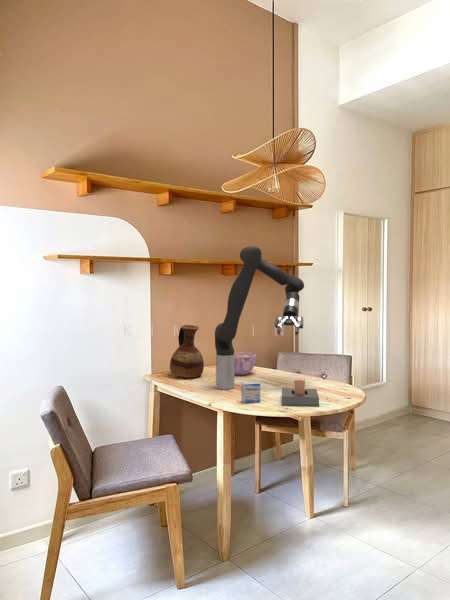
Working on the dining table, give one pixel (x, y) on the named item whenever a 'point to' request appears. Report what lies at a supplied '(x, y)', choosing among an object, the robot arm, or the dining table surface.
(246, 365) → the bowl of food
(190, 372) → the ceramic pitcher
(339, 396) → the dining table surface
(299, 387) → the square peg
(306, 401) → the square hole block
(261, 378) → the dining table surface
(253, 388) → the medicine box
